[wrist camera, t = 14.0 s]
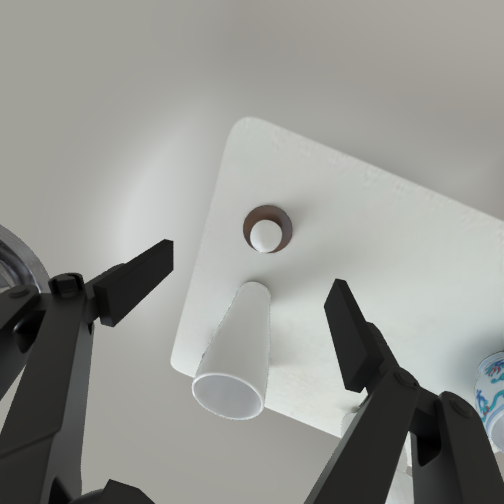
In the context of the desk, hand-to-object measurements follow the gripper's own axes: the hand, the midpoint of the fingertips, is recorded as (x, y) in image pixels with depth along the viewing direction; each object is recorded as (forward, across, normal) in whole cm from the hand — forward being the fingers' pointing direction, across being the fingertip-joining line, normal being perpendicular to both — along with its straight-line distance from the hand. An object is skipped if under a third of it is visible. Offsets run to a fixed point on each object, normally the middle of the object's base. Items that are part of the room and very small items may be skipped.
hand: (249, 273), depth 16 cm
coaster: (+11, 0, 0) cm, 11 cm away
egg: (+11, 0, 0) cm, 11 cm away
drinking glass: (+12, +1, -11) cm, 16 cm away
